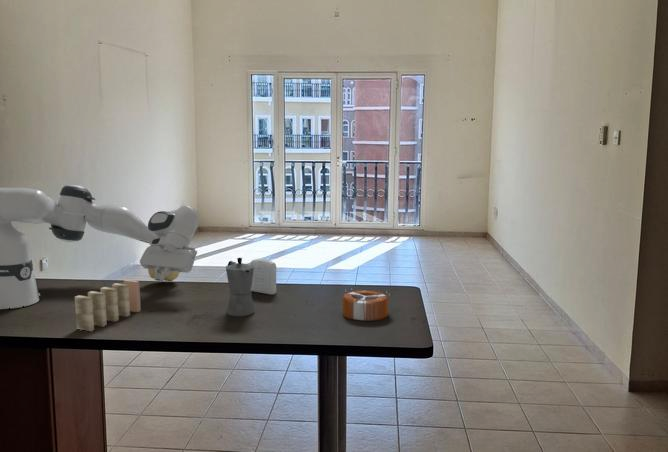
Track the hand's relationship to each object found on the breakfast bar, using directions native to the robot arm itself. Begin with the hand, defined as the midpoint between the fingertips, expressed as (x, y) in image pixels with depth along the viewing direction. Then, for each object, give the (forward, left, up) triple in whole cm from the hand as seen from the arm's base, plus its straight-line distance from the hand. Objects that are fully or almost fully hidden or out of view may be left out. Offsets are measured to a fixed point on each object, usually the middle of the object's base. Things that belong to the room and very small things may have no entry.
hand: (158, 280), depth 197 cm
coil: (+70, +14, -8) cm, 72 cm away
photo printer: (+28, +24, -8) cm, 37 cm away
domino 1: (0, -32, -7) cm, 33 cm away
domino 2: (0, -27, -7) cm, 28 cm away
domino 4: (0, -17, -7) cm, 19 cm away
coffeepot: (+32, +1, -7) cm, 33 cm away
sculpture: (-12, +17, -6) cm, 22 cm away
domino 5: (-1, -12, -7) cm, 14 cm away
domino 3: (0, -22, -7) cm, 24 cm away
